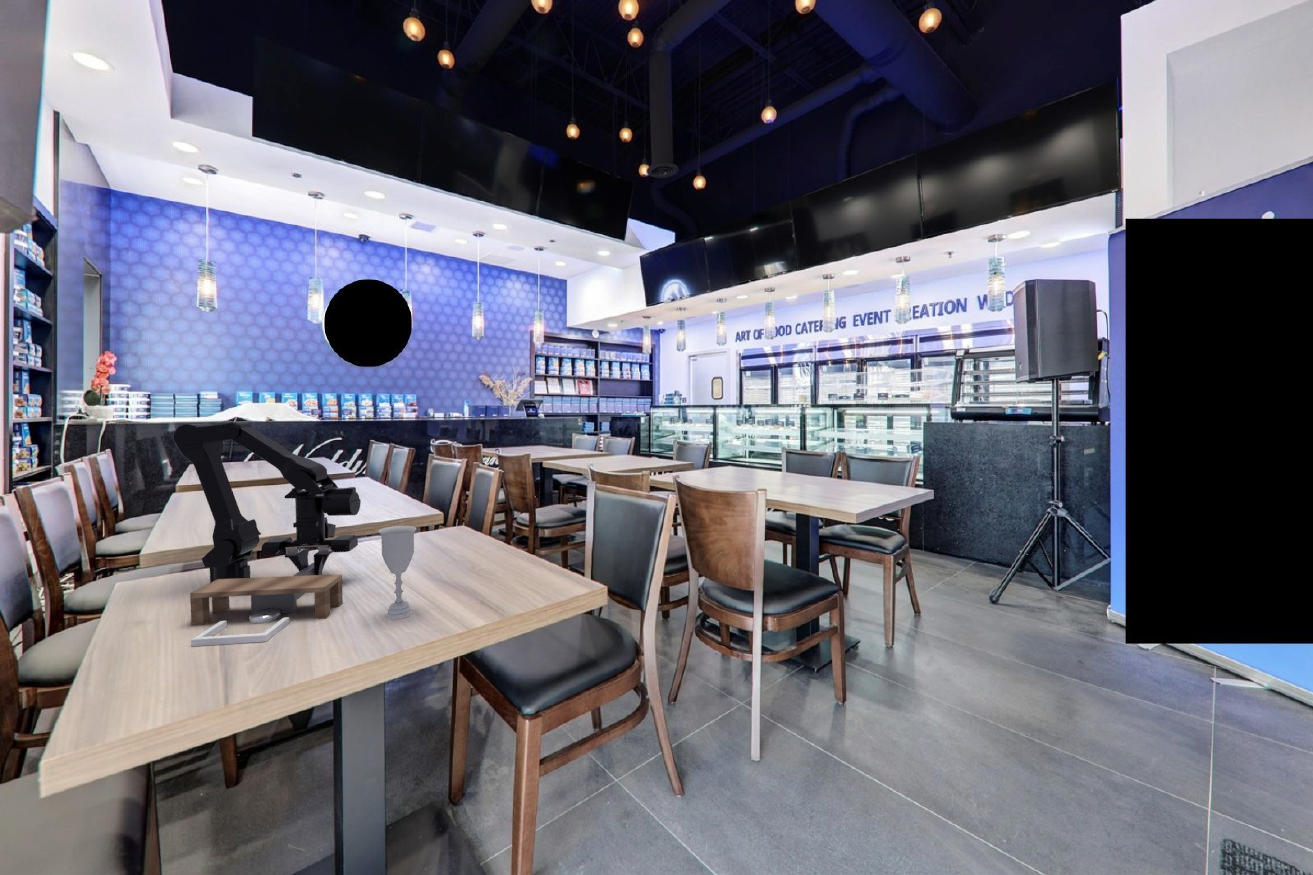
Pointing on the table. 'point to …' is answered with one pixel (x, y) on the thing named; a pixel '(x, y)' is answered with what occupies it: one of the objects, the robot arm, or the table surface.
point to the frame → (209, 639)
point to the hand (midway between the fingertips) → (312, 579)
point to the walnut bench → (266, 593)
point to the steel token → (264, 616)
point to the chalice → (398, 563)
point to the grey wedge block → (280, 597)
